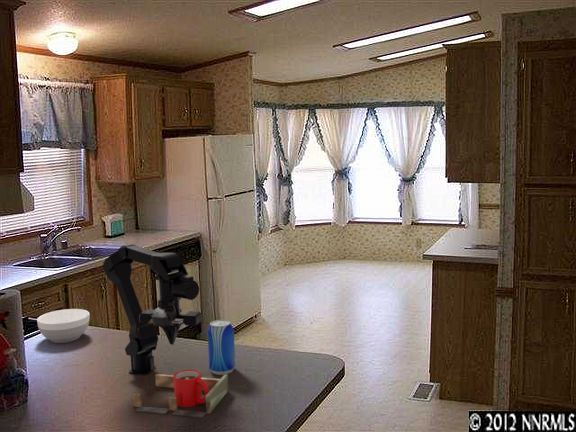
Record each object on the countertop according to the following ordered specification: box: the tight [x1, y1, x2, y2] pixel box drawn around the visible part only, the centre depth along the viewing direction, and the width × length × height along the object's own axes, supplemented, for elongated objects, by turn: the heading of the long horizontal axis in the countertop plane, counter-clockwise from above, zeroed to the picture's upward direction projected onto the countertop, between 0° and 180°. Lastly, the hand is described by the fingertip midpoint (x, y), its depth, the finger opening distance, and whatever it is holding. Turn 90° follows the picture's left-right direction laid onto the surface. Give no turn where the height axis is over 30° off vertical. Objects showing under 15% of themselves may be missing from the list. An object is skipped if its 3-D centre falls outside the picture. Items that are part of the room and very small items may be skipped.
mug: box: [173, 369, 210, 408], centre depth 171 cm, size 8×12×8 cm, turn 58°
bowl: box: [36, 308, 90, 344], centre depth 229 cm, size 19×19×9 cm
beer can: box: [206, 319, 236, 376], centre depth 193 cm, size 8×8×16 cm
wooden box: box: [132, 373, 229, 418], centre depth 173 cm, size 23×18×5 cm
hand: (172, 344), depth 185 cm, fingers closed
